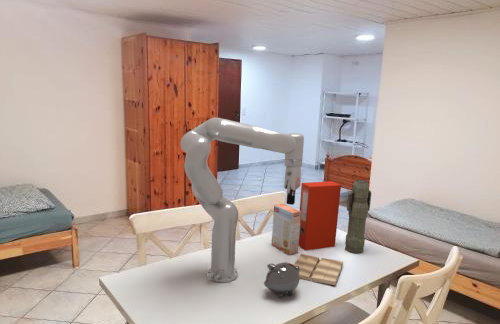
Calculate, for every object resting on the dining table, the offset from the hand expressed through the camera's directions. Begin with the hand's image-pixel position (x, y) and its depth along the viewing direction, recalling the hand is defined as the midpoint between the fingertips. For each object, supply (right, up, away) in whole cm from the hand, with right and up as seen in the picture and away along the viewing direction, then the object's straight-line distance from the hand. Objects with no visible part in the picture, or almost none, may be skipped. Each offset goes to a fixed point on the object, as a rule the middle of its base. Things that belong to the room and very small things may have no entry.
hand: (290, 203), depth 158 cm
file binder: (+15, -24, +24) cm, 37 cm away
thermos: (+34, -25, +21) cm, 47 cm away
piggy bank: (-6, -32, -21) cm, 38 cm away
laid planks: (+6, -28, 0) cm, 29 cm away
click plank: (+16, -29, -4) cm, 33 cm away
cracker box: (-1, -24, +19) cm, 31 cm away
